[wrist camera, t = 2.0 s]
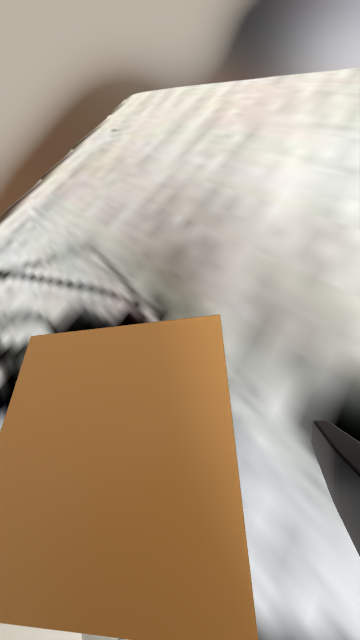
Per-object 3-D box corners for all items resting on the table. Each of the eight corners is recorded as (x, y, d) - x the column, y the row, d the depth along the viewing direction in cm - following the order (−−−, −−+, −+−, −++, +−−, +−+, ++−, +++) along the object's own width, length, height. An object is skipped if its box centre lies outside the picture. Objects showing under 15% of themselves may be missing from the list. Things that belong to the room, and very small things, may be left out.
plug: (238, 482, 14) (259, 655, 2) (172, 481, 14) (-59, 616, 3) (230, 409, 15) (220, 314, 4) (171, 412, 16) (31, 336, 5)
